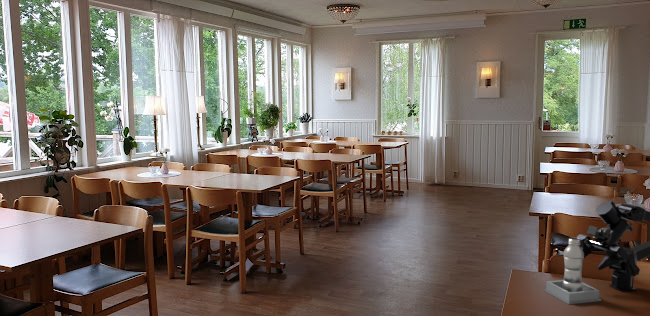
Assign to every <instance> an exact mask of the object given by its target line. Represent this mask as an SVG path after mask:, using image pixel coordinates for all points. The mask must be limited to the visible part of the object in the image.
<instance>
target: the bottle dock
mask: <svg viewBox="0 0 650 316" xmlns="http://www.w3.org/2000/svg"><path fill="white" fill-rule="evenodd" d="M563 280H564V279H559V280H548V281H546V287H545V288H544V289H543V291H544V292H546V293H548V294H549V295H552V296H554V297H555V298H557V299H559V300H560V301H562V302H564V303H565V304H567V305H577V304H584V303H585V304H586V303H593V302H594V303H595V302H602V299H601V298H600V290H599V289H597V288H595V287H592V286H591V285H589V284H587V283H585V282H583V281H582V284H583V290H582V291H579V292H568V291H566V290H564V289H563V288H562V283H563Z"/></svg>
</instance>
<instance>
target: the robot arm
mask: <svg viewBox="0 0 650 316" xmlns="http://www.w3.org/2000/svg"><path fill="white" fill-rule="evenodd" d="M595 213H596V214H597V215H598V217H599V218H600V219H601V220H602V221H603V223H604V224H606V227H602V228H599V227H597V226H593V225H589V226H588V228H587V232H586V234H587V235H586V234H584V233H580V234H578V235H577V236H576V238H579V239H580V243H581V244H580V245H579V246H580V248H581V249H582V251H583V253H584V258H583V260H584V259H585V258H586V257H587V256H589V255H591V253H592V252H593V251H592V250H594V249H595V248H596V249H599V250H602V251H604V252H605V251H606V254H605V256H604V257H603V258H602V260H601V261H600V262H599V264H598V266H597V267H596V268H597V270H599V271H601V270H603V269H605V268H606V269H607V268H608V269H610V270H612V275H611V283H608V286H609V285H610V287H611V286H612V288H613V287H614V289H615V290H618V291H620V292H630V291H629V290H632V291H637V288H636V287H634V281H635V280H634V279H635V278H634V277H636V276H639V274H640V271H641V268H639V266H638V265H637V264H638V262H639V261H641V260H643V259H646V258H648V257H650V240H647V241H646V242H644V243H640V244H638V245H636V246H633V247H631V248H629V247H624V246H621V245H618V244H620V243H622V237H623V236H624V234H625V233H626V232H627V231H628V232H633V231H634V230H633V224H632V223H630V222H633V223H636V222H637V223H639V222H641V223H642V222H650V210H649V211H648V210H646V208H643V207H641V206H639V205H635V204H630V203H625V202H622V203H621V204H620V205H618V206H616V204H615V202H614V201H613V200H607V201H606V202H603V203H600V204H599V205H597V206H596V208H595ZM627 220H628V221H630V222H628V221H627ZM589 235H590V236H589ZM591 236H592V238H591Z"/></svg>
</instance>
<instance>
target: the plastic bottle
mask: <svg viewBox="0 0 650 316" xmlns="http://www.w3.org/2000/svg"><path fill="white" fill-rule="evenodd" d="M567 244H568V246H566V247H565V249H564V250H563V259H564V260H563V261H564V275H563V279H562V280H563V283H562V288H563V289H564V290H566V291H568V292H579V291H582V290H583V284H582V282H583V281H582V280H583V277H582V272H583V271H582V269H583V264H584V263H583V262H584V259H585V258H584V253H583V251H582V249H581V248H580V244H581V243H580V239H579V238H577V237H569V238H568V242H567ZM583 258H584V259H583Z"/></svg>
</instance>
